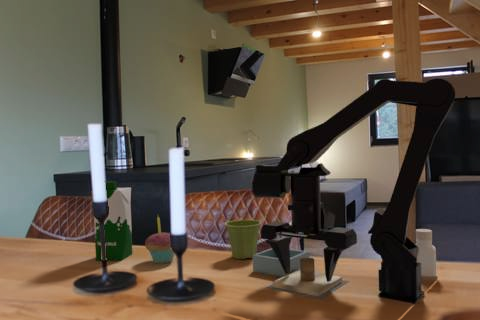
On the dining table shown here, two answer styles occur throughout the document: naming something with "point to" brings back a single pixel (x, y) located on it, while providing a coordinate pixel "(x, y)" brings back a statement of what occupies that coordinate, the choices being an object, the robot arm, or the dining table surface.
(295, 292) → the mat
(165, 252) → the cupcake
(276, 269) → the open box
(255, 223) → the plant pot
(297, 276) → the lid
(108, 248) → the milk carton
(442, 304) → the dining table surface
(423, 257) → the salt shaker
